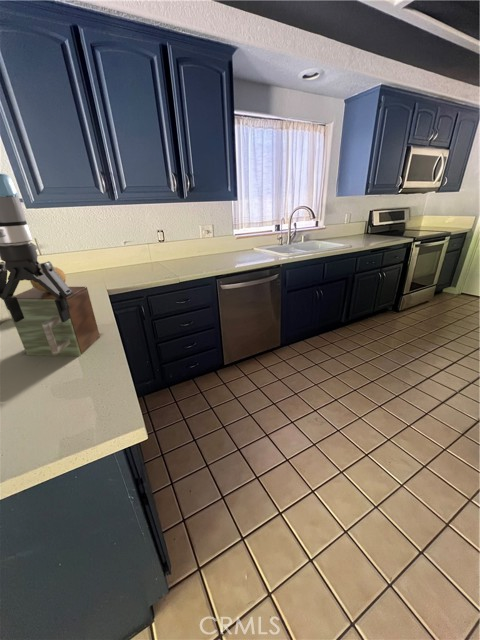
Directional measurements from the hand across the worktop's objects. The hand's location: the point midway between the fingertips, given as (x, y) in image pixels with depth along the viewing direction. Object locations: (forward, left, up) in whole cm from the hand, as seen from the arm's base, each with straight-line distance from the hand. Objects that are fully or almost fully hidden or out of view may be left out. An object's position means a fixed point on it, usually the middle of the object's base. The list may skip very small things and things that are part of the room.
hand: (42, 320), depth 75 cm
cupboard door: (-7, +4, -16) cm, 18 cm away
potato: (-7, +15, +3) cm, 17 cm away
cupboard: (-7, +14, -16) cm, 23 cm away
